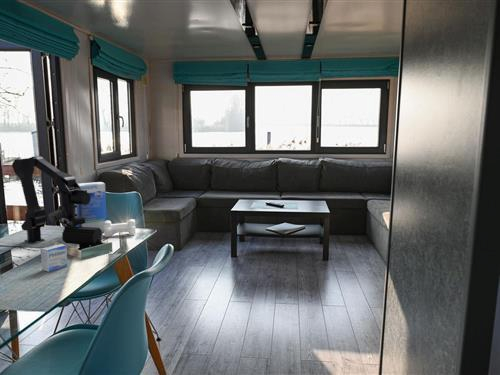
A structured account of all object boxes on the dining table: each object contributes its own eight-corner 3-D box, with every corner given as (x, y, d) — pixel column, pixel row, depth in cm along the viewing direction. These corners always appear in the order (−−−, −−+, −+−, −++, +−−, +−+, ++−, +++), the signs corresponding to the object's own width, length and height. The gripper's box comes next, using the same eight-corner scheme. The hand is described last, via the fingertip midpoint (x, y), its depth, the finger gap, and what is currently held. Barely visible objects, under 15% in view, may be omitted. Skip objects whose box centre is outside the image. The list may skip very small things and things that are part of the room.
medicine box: (48, 272, 145) (46, 250, 144) (41, 270, 147) (40, 248, 146) (67, 266, 151) (66, 245, 150) (61, 264, 154) (59, 243, 152)
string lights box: (104, 229, 207) (102, 181, 204) (107, 232, 201) (105, 183, 197) (77, 232, 200) (75, 183, 196) (80, 235, 194) (78, 185, 190)
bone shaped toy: (135, 233, 202) (134, 218, 202) (135, 236, 194) (135, 220, 194) (104, 235, 198) (104, 219, 197) (104, 238, 190) (103, 222, 189)
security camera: (100, 253, 167) (99, 231, 166) (61, 250, 170) (60, 228, 168) (108, 248, 174) (107, 227, 172) (71, 246, 177) (70, 225, 175)
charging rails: (53, 248, 173) (52, 239, 173) (82, 241, 185) (82, 233, 184) (82, 259, 159) (82, 250, 159) (112, 251, 171) (112, 242, 170)
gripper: (39, 203, 174) (41, 236, 177) (60, 208, 163) (63, 244, 166) (63, 199, 183) (65, 231, 186) (85, 205, 172) (87, 238, 175)
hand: (69, 236), depth 178 cm, fingers closed
